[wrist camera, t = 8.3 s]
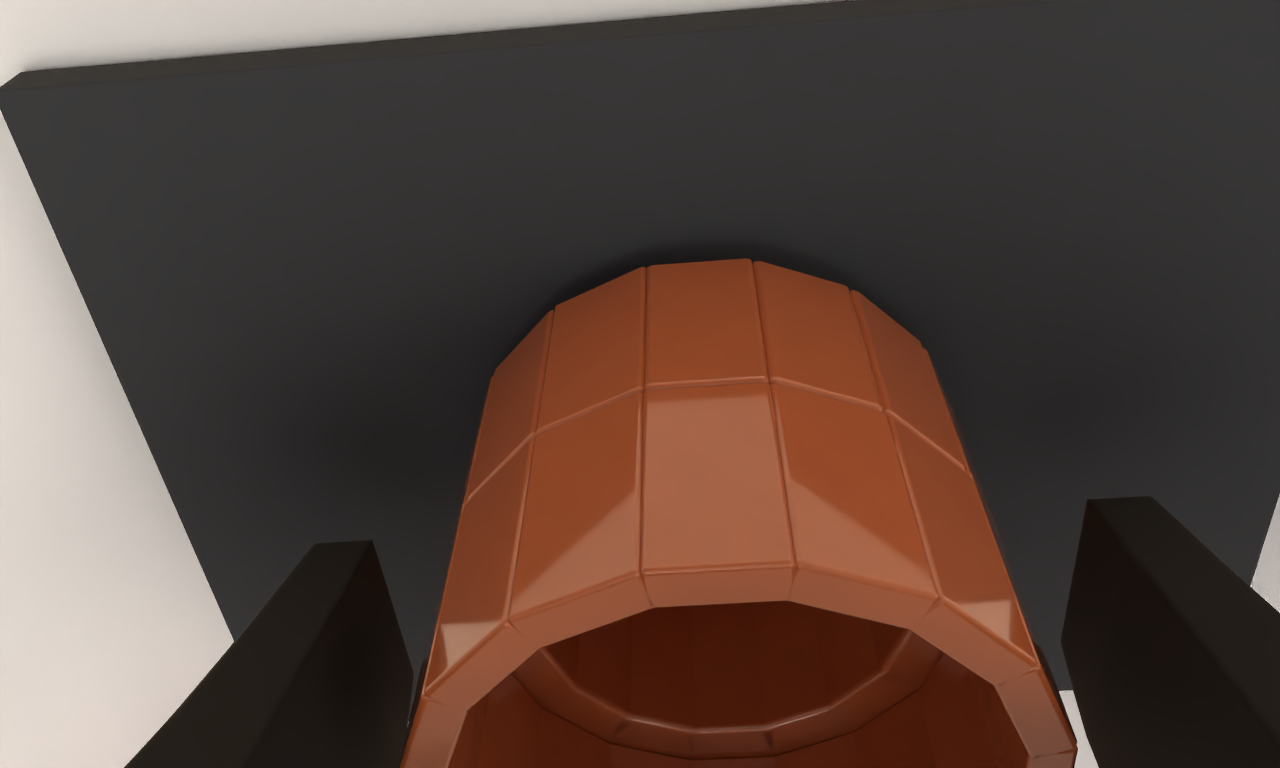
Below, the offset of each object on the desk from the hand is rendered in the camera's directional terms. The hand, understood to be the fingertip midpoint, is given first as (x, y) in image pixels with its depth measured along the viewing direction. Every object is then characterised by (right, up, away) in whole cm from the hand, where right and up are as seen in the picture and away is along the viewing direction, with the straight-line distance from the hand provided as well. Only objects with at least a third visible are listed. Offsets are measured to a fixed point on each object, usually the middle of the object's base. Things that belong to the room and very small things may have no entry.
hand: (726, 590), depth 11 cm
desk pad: (0, +2, +2) cm, 3 cm away
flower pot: (0, +1, +2) cm, 3 cm away
